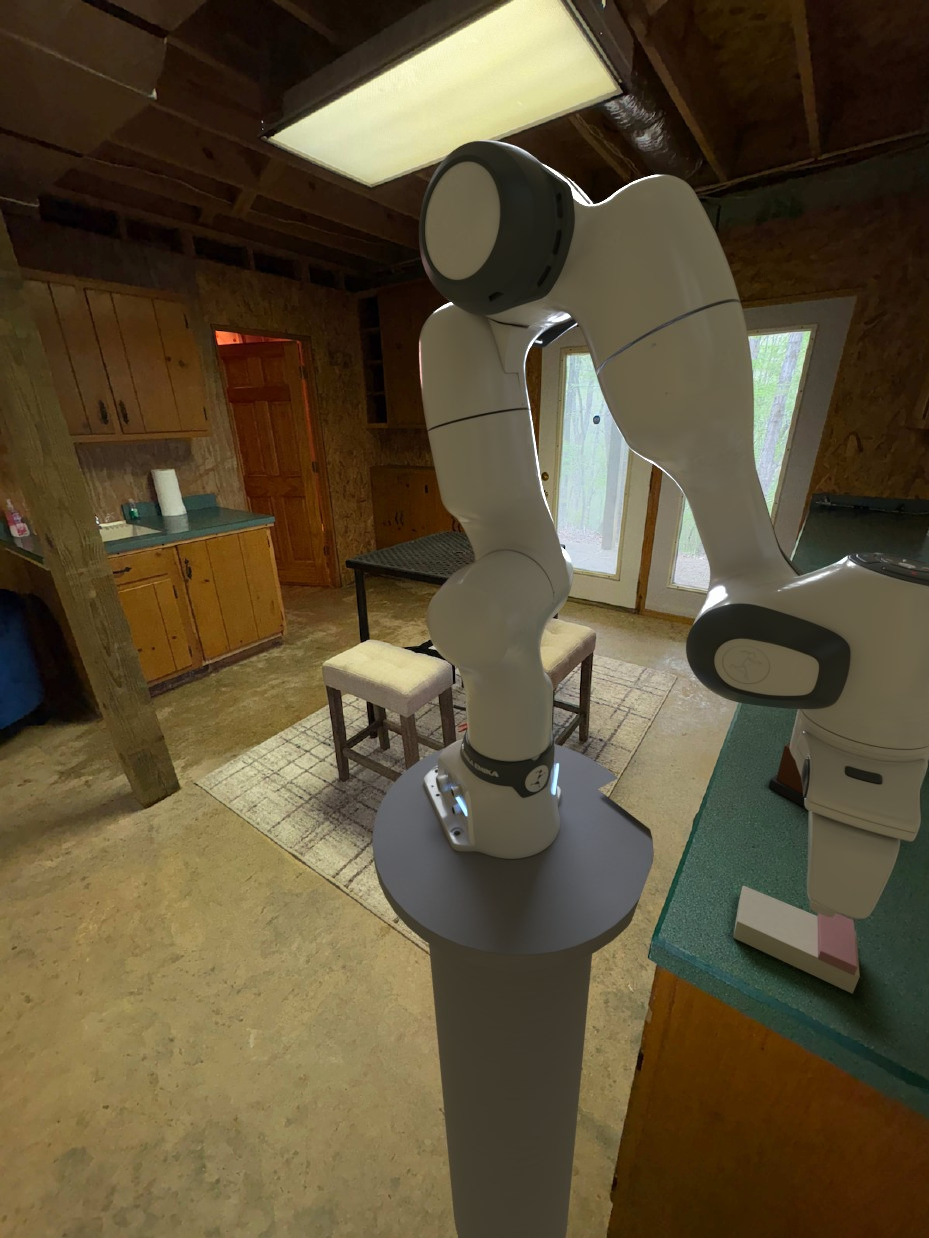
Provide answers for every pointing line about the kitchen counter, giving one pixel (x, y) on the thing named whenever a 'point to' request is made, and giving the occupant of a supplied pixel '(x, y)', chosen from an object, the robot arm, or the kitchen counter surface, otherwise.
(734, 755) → the kitchen counter surface
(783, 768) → the brown block on base
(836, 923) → the cream rectangular block
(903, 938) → the kitchen counter surface
